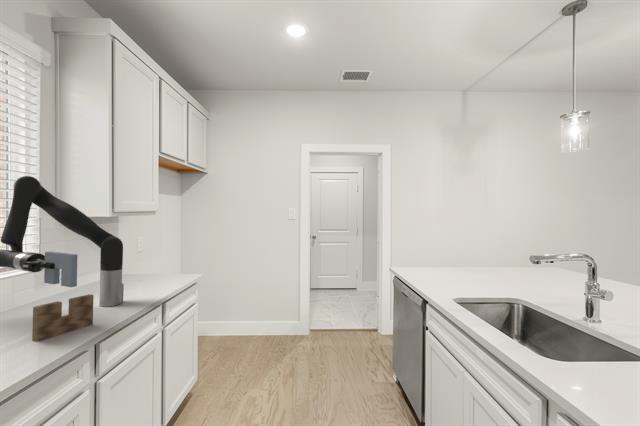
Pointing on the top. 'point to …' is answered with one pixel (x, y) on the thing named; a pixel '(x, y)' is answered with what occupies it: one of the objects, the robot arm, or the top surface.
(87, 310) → the walnut board
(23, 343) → the top surface
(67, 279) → the slate plate
